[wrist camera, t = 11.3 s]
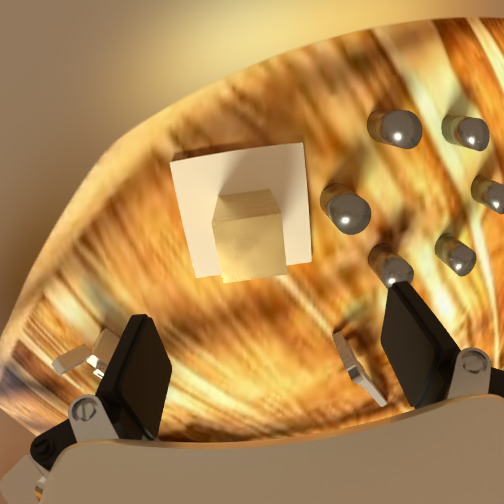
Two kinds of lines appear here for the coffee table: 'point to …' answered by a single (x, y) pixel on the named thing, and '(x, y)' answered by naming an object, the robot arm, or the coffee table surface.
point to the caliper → (356, 368)
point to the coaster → (237, 181)
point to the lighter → (89, 355)
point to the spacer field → (408, 136)
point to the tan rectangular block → (249, 236)
